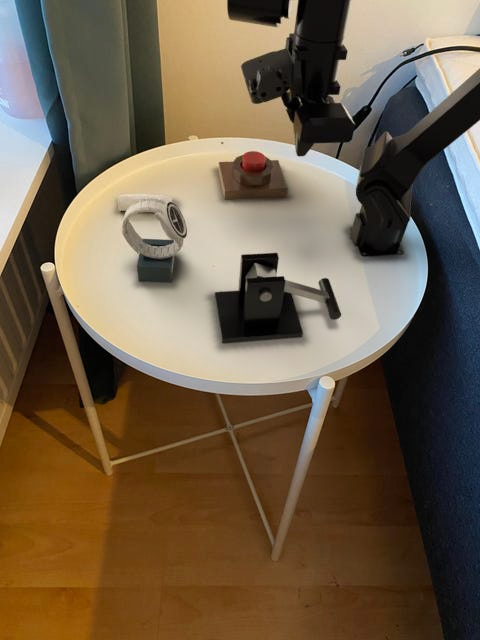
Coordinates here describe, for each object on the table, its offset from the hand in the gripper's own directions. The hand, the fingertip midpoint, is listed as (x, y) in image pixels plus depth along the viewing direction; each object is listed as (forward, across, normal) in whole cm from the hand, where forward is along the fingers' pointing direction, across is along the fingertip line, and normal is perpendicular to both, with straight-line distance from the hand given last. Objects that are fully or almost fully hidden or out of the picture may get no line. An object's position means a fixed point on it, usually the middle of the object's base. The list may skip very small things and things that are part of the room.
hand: (300, 154), depth 74 cm
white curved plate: (+12, -6, -21) cm, 25 cm away
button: (+9, -11, -4) cm, 15 cm away
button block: (+12, -11, -4) cm, 17 cm away
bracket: (+12, +18, -8) cm, 23 cm away
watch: (+12, +8, -20) cm, 25 cm away
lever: (+8, +18, -4) cm, 20 cm away
